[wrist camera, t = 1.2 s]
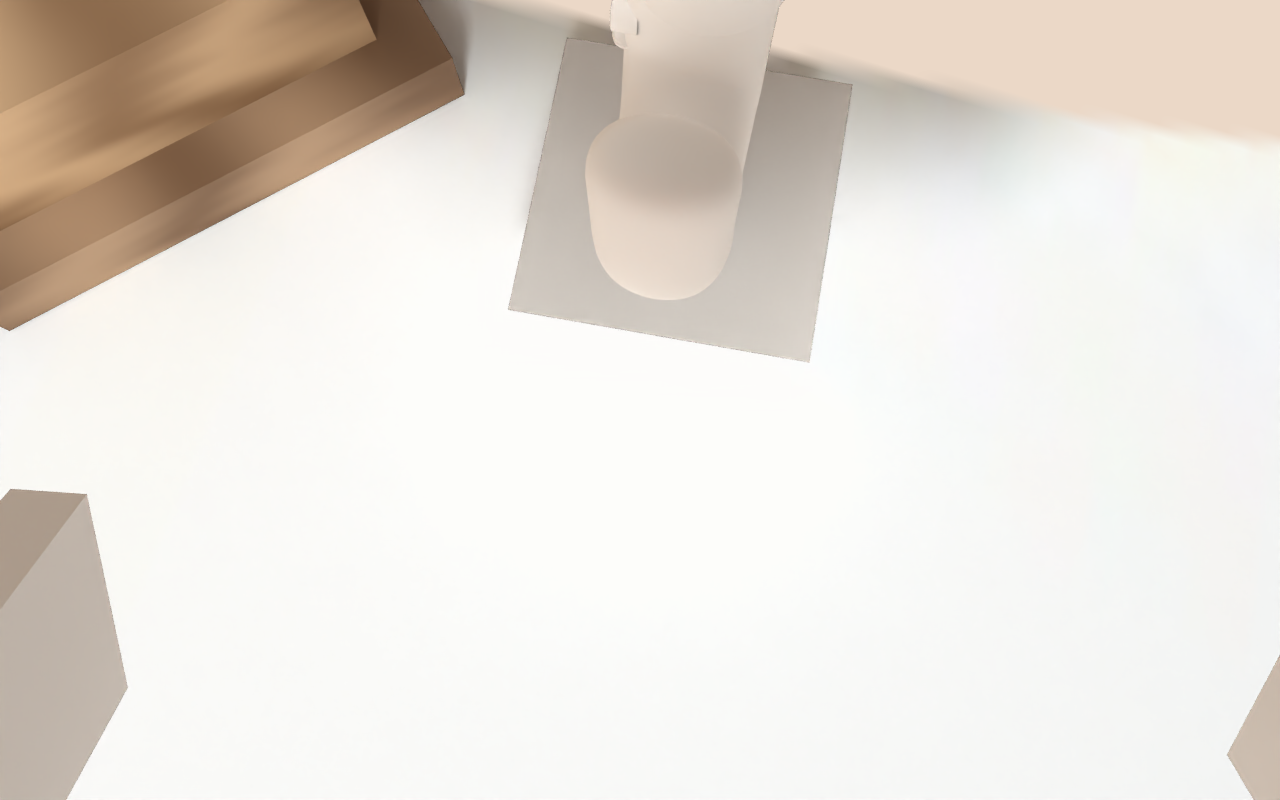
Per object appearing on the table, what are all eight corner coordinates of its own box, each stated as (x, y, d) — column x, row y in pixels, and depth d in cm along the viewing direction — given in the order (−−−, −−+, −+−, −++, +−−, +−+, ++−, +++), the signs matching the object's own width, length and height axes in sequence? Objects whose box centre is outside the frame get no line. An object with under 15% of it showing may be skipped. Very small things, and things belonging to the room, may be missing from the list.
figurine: (833, 113, 31) (1009, -362, 16) (782, 435, 29) (929, 232, 14) (583, 71, 31) (528, -433, 16) (516, 387, 29) (385, 141, 14)
